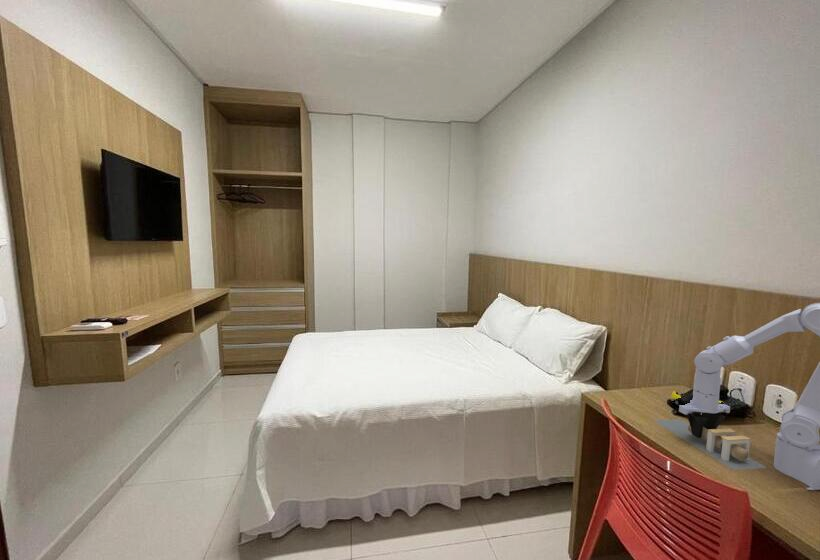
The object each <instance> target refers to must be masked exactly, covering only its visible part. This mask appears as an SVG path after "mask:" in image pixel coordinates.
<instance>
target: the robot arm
mask: <svg viewBox="0 0 820 560" xmlns="http://www.w3.org/2000/svg"><path fill="white" fill-rule="evenodd" d="M806 329H808V330H809V331H811V332H813V333H814V334H816V335H817V336H818V337H820V302H815V303H811V304H809V305H806V306H805V307H804V308H803V310H802V308H799V309H797V310H796V309H795V310H793V311H791V312H789V313H785V314H783V315H781V316H779V317H777V318H775V319H774V320H771V321H770V322H768V323H766V324H764V325H763V326H760V327H759V328H757V329H756V330H753V331H752V332H750V333H748V334H745V336H740V335H731V336H729V335H727V336H725V337H723V338H722V339H723V340H722V341H721V342H718V343H716V344H715V345H713V346H711V345H709V346H707V347H706V349H704V350H702V351H701V352H699V353H698V354H697V355H696V356H695V358H694V359H693V363H694V365H695V368H694V369H695V373H694V378H693V390H692V395H693V398H692V400H690V403H687V404H685V405H679V406H678V407H679V408H678V413H679V412H680V413H681V414H683V415H685V416H686V418H687V420H688V424H690V427H691V431H692V435H694V436H696V437H698V438H701V435H702V431H703V427H704V428H706V429H718V427H719V425H721V423H722V422H723V421H725V419H726V416H725V415H723V414H721V413H726V414H729V413H730V412H731V406H729V405H728V404H725V403H724V404H719V401H720V391H721V382H722V380H721V373H722V372H721V369H722V368H723V367H724V366H728V365H731V364H733V363H736V362H737V361H739V360H742V359H743V358H746V357H748V356H750V355H753V354H754V347H756V346H759V345H761V344H763V343H765V342H767V341H770V340H772V339H774V338H776V337H779V336H780V335H783V334H785V333H787V332H788V333H789V332H792V333H793V332H794V333H796V332H799V333H800V332H803V333H805V331H806ZM814 369H815V370H814V371H813V373H812V375H811V377H810V378H809V380H808V382H807V383H806V385H805V387H804V389H803V390H802V393H801V395H800V397H799V399H798V400H797V401H796V402H795V403H794V405H793V407H792V408H791V409H790V410H787V411H785V412H784V413H783V414H782V416H781V421H782V422H781V424H780V426H779V431H778V432H777V433H776V440H775V449H774V458H773V467H774V468H775V469H776V470H777V471H778V472H780V473H782V474H784V475H786V476H787V477H791V478H793V479H794V480H797V481H798V482H801V483H803V484H805V485H806V486H803V487H802V488H804V489H806V490H807V491H817V490H820V443H819V442H820V432H819V431H820V361H819V362H818V364H817V366H816V367H815V368H814Z"/></svg>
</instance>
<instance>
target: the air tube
mask: <svg viewBox="0 0 820 560" xmlns="http://www.w3.org/2000/svg"><path fill="white" fill-rule="evenodd" d="M688 424H689V425H688V430H689V431H690V432H691V433H692V431H691V427H690V423H688ZM707 436H708V429H706V428H704V427H703V431H702V435H701V438H702V439H704V440H705V441H707ZM721 437H722V435H721V436H715V444H714V446H716V447H718V448H719V449H721V450H722V442H723V439H722V438H721ZM749 454H750V453H749ZM749 454H748V451H747V450H745V449H743V448H742V447H741V445H740V446H739V444H731V445H730V455H731V456H733V457H735V458H737V459H738V460H740V461H744V460H746V459H747V458H748V455H749ZM749 456H750V455H749Z"/></svg>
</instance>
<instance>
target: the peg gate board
mask: <svg viewBox="0 0 820 560" xmlns="http://www.w3.org/2000/svg"><path fill="white" fill-rule="evenodd" d="M652 421H653V422H654V423H656V424H658V425H659V426H661V427H663V428H664V429H666V431H667V430H668V432H671V433H672V434H674V435H676V436H677V437H679V438H681V439H682V440H684V441H685V442H687V443H688V444H691V445H692V446H694V447H695V448H697V449H699V450H700V451H702V452H704V453H705V454H707V455H709V456H710V457H712V458H714V459H715V460H717V461H719V462H720V463H722V464H723V465H725V466H726V467H728V468H729V469H730V470H733V471H737V470H753V469H756V470H757V469H768V467H767V466H765V465H764V464H762V463H760V462H758V461H756V460H754V459H752V457H750V455H748V458H747V459H746V460H744V461H740V460H738V459H737V458H735V457H733V456H731V455H730V445H731V444H736V445H740V447H742V448H743V449H745V450H747V451H748V454H750V446H751V438H749V437H748V436H745V435H735V434H736V433H737V431H735V430H734V429H732V428H716V429H708V436H707V441H705V440H704V439H702V438H698V437H696V436H694V435H692V433H691V432H690V431H689V430H688V425H689V424H690V423H689V422H688V423H687V422H686V421H684V420H682V419H677V418H676V419H657V420H656V419H655V420H652ZM715 436H721V438H722V439H723V442H722V450H721V449H719V448H718V447H716V446H714V444H715Z"/></svg>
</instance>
